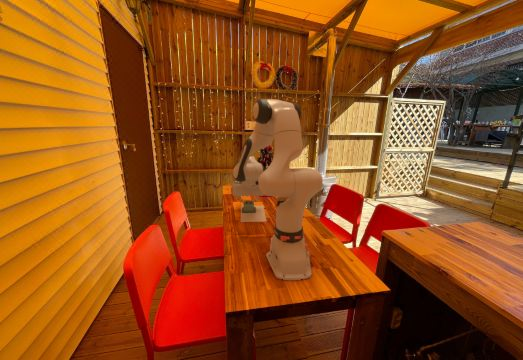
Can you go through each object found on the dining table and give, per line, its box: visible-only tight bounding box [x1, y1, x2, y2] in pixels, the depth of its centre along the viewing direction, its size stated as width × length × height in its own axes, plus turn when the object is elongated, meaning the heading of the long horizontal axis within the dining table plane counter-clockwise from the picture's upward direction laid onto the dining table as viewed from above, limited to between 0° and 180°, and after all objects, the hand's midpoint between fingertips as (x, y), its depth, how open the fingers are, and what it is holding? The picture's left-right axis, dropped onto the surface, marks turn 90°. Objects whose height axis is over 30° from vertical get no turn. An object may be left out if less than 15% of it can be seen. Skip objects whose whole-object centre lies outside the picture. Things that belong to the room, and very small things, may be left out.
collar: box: [243, 200, 255, 212], centre depth 137 cm, size 6×6×5 cm
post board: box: [240, 200, 267, 223], centre depth 133 cm, size 24×15×8 cm, turn 4°
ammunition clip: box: [276, 196, 289, 207], centre depth 145 cm, size 11×2×12 cm, turn 99°
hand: (248, 202), depth 136 cm, fingers open, 8 cm apart
